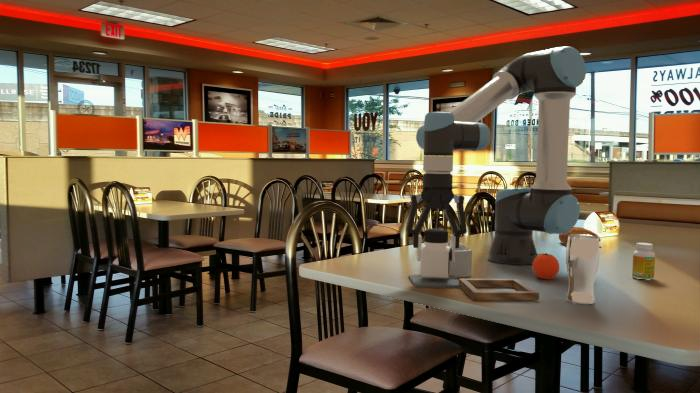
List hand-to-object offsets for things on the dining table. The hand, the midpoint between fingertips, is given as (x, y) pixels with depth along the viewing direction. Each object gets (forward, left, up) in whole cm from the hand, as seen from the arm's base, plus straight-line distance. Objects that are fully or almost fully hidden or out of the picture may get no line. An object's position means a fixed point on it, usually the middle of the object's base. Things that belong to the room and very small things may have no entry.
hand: (435, 260), depth 148 cm
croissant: (-68, -69, -6) cm, 97 cm away
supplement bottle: (-59, -7, -6) cm, 60 cm away
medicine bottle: (0, 0, -4) cm, 4 cm away
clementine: (-31, -6, -6) cm, 32 cm away
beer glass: (-30, +19, -6) cm, 36 cm away
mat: (0, 0, -6) cm, 6 cm away
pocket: (-13, +11, -6) cm, 18 cm away
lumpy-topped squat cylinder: (-6, -12, -6) cm, 15 cm away
